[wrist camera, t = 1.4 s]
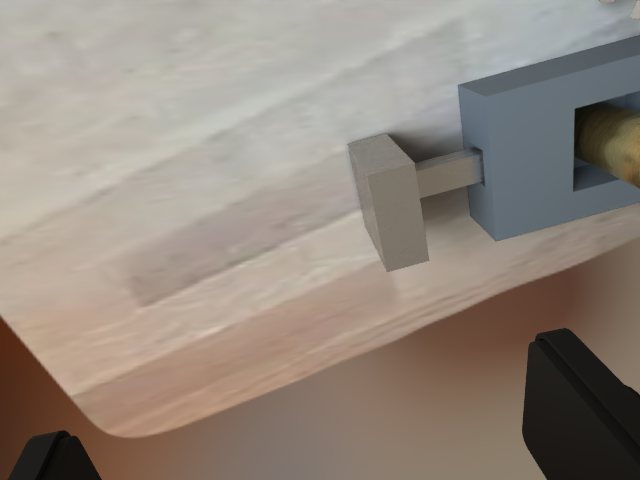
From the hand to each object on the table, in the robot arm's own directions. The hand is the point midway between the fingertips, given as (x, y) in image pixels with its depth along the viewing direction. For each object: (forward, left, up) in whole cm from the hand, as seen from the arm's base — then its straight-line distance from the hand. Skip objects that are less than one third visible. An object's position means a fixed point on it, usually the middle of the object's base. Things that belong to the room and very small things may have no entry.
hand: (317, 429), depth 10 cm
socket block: (-18, +4, -22) cm, 28 cm away
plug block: (-9, +4, -22) cm, 23 cm away
